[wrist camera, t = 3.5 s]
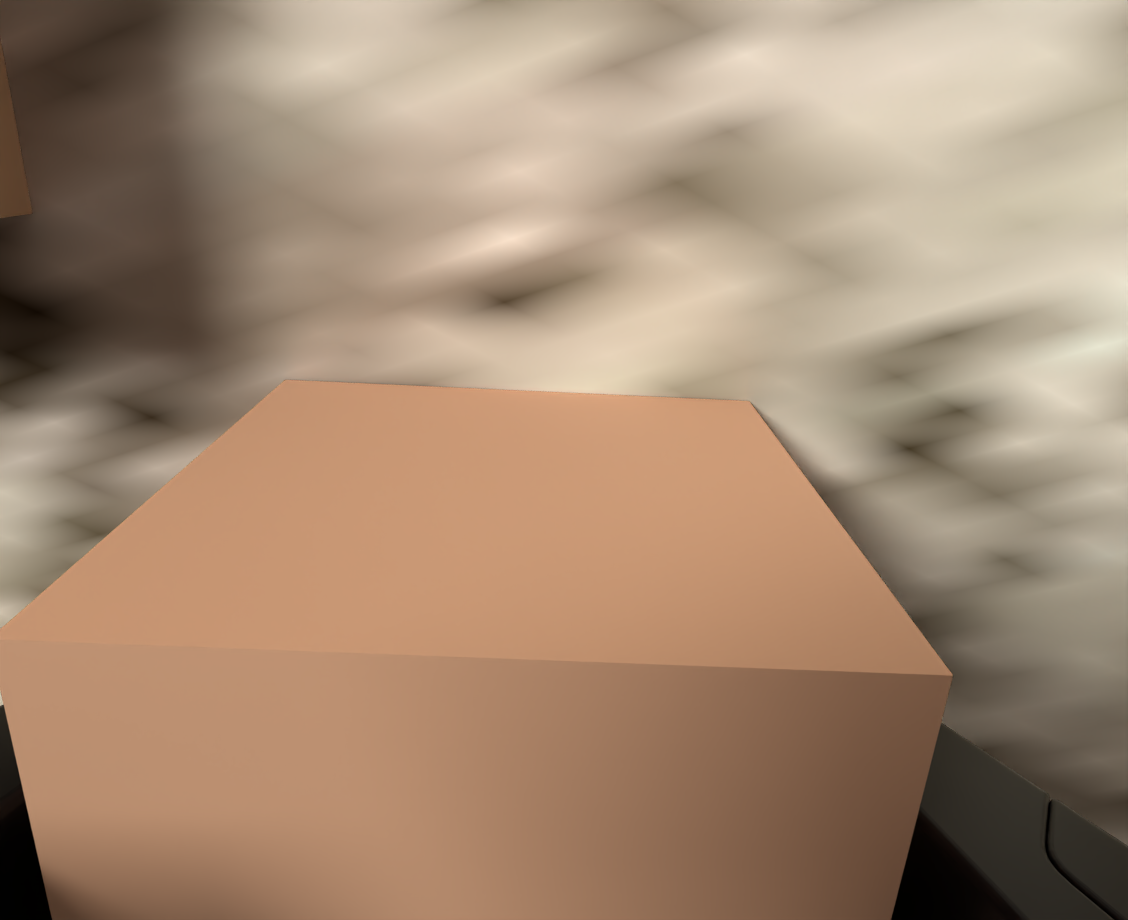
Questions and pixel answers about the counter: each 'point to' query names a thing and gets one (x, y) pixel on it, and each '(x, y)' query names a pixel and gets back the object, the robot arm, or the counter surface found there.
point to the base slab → (10, 155)
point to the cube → (474, 675)
